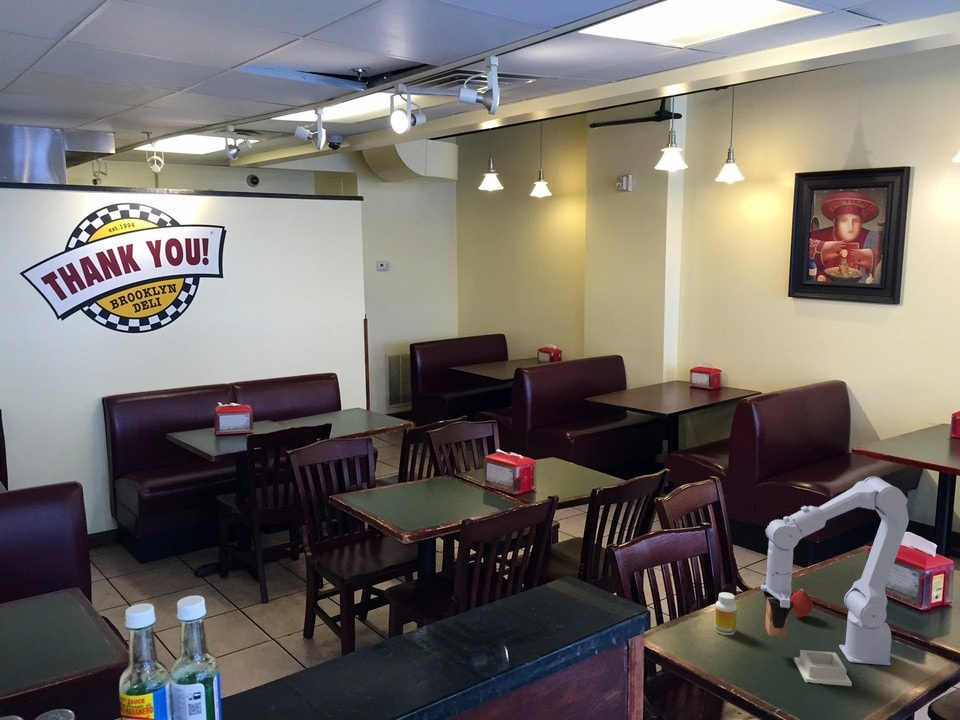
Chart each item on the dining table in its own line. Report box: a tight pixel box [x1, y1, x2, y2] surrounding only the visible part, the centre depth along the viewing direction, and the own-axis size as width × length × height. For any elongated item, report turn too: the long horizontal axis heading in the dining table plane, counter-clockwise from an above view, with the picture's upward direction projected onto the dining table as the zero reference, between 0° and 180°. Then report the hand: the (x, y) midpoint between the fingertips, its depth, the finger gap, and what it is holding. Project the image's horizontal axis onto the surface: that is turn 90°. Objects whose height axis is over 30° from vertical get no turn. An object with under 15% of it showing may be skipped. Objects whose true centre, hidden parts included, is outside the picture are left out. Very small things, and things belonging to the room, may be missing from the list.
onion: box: [790, 588, 814, 618], centre depth 210 cm, size 6×6×8 cm
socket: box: [793, 649, 853, 687], centre depth 181 cm, size 10×10×3 cm
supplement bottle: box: [713, 591, 738, 636], centre depth 201 cm, size 5×5×10 cm
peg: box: [764, 597, 788, 637], centre depth 189 cm, size 4×4×8 cm
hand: (775, 623), depth 189 cm, fingers closed on peg, 4 cm apart
